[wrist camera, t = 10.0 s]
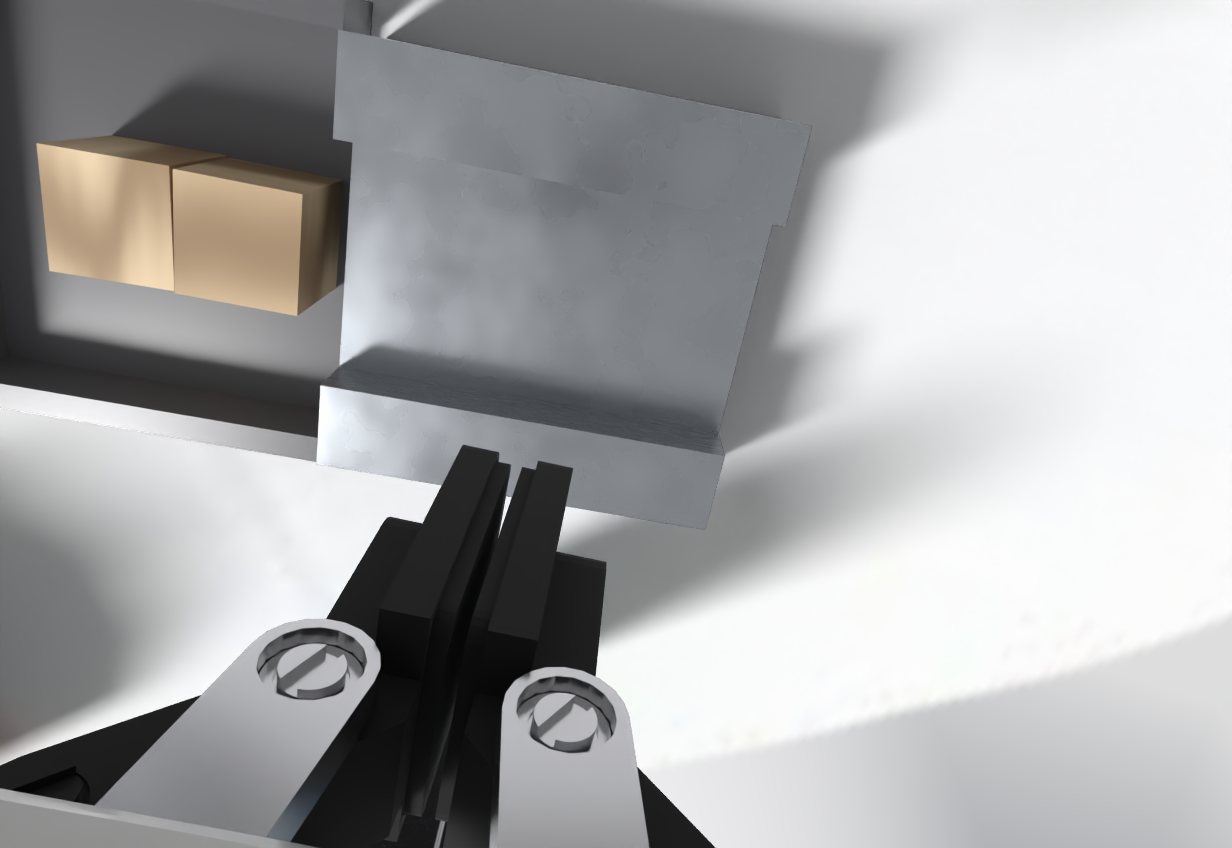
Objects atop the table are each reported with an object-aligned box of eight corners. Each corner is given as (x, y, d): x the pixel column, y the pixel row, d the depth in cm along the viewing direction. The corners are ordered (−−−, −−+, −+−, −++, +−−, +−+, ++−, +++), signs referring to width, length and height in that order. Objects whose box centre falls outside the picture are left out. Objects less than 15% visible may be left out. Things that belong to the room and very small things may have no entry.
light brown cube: (230, 157, 29) (172, 168, 25) (342, 180, 29) (302, 194, 26) (228, 267, 30) (174, 293, 27) (335, 287, 31) (297, 315, 27)
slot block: (385, 38, 28) (338, 29, 23) (781, 118, 29) (812, 126, 24) (358, 411, 33) (316, 464, 29) (694, 469, 34) (705, 529, 30)
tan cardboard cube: (226, 154, 29) (111, 135, 29) (168, 166, 25) (36, 143, 25) (228, 265, 30) (119, 247, 30) (174, 291, 27) (49, 271, 27)
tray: (-58, -87, 27) (-137, -106, 24) (372, 2, 27) (344, -6, 25) (-6, 370, 33) (-64, 397, 30) (345, 431, 34) (320, 462, 31)
